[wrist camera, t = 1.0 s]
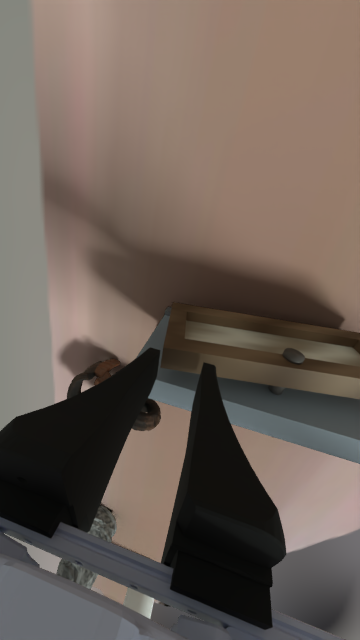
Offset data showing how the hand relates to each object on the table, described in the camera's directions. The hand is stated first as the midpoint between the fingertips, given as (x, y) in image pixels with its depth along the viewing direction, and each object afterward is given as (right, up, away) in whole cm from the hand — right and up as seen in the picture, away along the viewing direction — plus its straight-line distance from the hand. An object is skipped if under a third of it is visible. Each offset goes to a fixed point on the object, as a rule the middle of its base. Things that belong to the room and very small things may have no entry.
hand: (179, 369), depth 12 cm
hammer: (-24, -54, +48) cm, 76 cm away
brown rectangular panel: (+7, +2, +6) cm, 10 cm away
